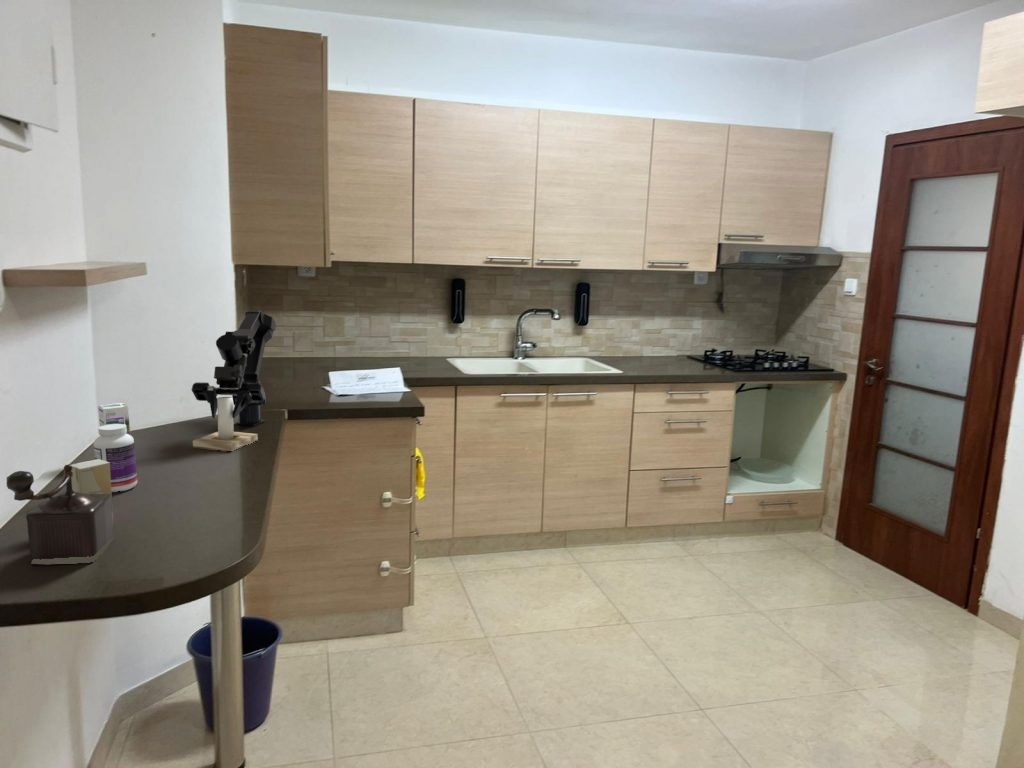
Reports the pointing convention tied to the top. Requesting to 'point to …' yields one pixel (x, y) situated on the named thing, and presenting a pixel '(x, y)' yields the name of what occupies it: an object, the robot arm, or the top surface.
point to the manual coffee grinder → (64, 518)
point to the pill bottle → (117, 455)
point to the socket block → (231, 445)
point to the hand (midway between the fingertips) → (223, 417)
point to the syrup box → (114, 415)
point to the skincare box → (92, 477)
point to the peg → (225, 418)
